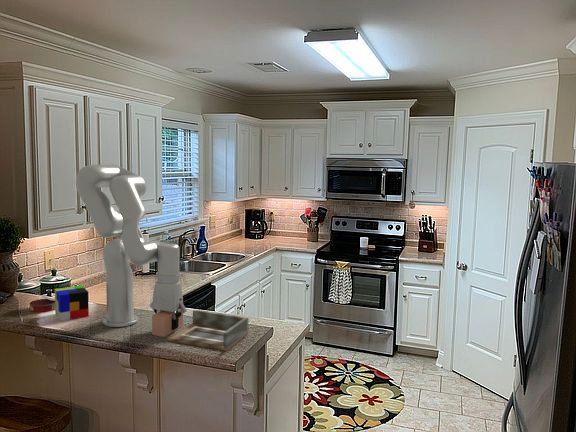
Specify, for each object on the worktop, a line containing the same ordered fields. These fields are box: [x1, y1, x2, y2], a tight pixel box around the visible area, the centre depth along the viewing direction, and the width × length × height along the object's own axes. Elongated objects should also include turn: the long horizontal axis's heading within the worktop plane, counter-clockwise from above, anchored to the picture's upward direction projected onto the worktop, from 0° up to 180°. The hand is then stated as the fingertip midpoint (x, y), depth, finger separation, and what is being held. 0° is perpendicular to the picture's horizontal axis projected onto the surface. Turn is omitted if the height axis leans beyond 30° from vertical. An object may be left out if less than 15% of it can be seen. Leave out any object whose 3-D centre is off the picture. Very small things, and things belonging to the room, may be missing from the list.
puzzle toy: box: [54, 285, 90, 322], centre depth 184 cm, size 10×10×10 cm
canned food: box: [29, 289, 55, 314], centre depth 191 cm, size 11×10×10 cm
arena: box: [167, 309, 250, 352], centre depth 165 cm, size 22×17×6 cm
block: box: [151, 309, 184, 338], centre depth 170 cm, size 12×5×7 cm, turn 161°
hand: (168, 327), depth 171 cm, fingers closed on block, 5 cm apart
